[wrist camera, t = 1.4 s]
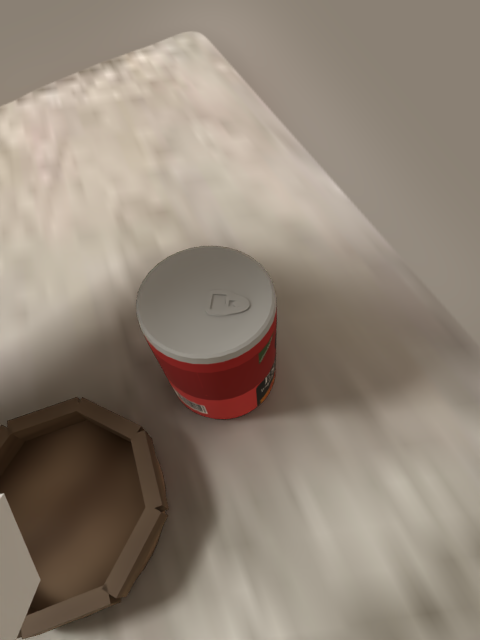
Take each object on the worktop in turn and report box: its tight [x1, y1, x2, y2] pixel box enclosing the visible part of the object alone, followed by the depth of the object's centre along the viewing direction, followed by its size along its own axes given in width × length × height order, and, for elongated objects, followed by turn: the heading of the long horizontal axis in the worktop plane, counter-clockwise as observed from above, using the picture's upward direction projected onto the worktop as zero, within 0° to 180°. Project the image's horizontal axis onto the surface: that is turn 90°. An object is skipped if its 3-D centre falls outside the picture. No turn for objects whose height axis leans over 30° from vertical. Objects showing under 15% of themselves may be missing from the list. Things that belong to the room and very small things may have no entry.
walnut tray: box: [0, 397, 169, 639], centre depth 28 cm, size 13×13×3 cm
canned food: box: [136, 246, 277, 419], centre depth 29 cm, size 8×8×11 cm
